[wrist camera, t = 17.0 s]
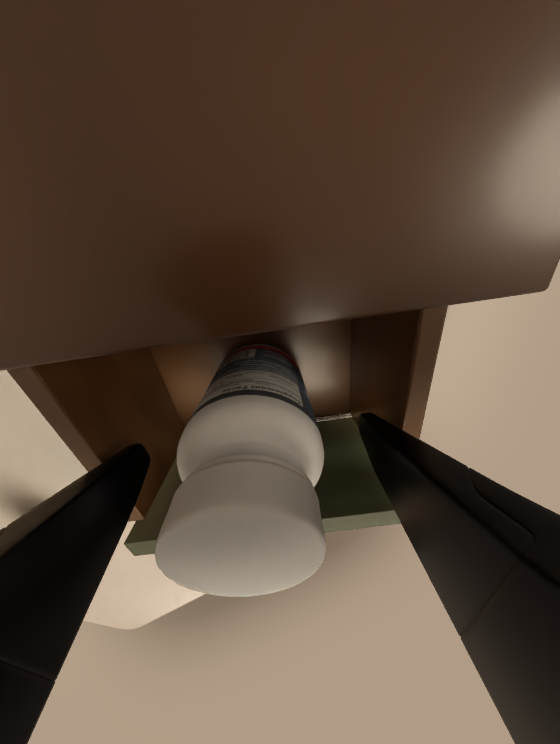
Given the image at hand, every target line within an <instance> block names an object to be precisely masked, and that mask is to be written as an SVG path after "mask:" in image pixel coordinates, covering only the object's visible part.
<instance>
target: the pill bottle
mask: <svg viewBox="0 0 560 744" xmlns="http://www.w3.org/2000/svg"><path fill="white" fill-rule="evenodd" d="M323 463H324V448H323V443H322V438H321V435H320V431H319V428H318V425H317V422H316V419H315V416H314V412H313V409H312V406H311V403H310V400H309V396H308V393H307V390H306V387H305V384H304V381H303V378H302V375H301V372H300V369H299V367H298V365H297V364H296V362H295V361H294V360H293V359H292V358H291V357H290V356H289V355H288V354H287V353H286V352H284V351H282V350H281V349H279V348H276V347H274V346H270V345H266V344H251V345H246V346H243V347H240V348H238V349H236V350H234V351H233V352H231V353H230V354H229V355H228V356H227V357H226V358H225V359H224V360H223V362H222V363H221V364H220V366H219V368H218V369H217V372H216V373H215V375H214V377H213V379H212V381H211V383H210V385H209V386H208V388H207V390H206V392H205V394H204V396H203V397H202V399H201V401H200V403H199V404H198V406H197V408H196V409H195V411H194V412H193V414H192V416H191V417H190V419H189V421H188V423H187V425H186V427H185V429H184V431H183V433H182V435H181V438H180V441H179V444H178V448H177V467H178V472H179V475H180V478H181V480H182V484H181V485H180V486H179V488H178V489H177V491H176V492H175V494H174V496H173V499H172V502H171V505H170V507H169V510H168V512H167V515H166V517H165V520H164V522H163V525H162V527H161V530H160V533H159V535H158V538H157V541H156V545H155V559H156V563H157V565H158V567H159V568H160V569H161V570H162V572H163V573H164V574H165V575H166V576H167V577H168V578H170V579H171V580H173V581H174V582H176V583H177V584H179V585H181V586H183V587H186V588H188V589H191V590H194V591H199V592H202V593H207V594H211V595H219V596H228V597H245V596H256V595H264V594H270V593H274V592H278V591H281V590H285V589H288V588H290V587H292V586H295V585H297V584H299V583H301V582H303V581H305V580H306V579H307V578H309V577H310V576H312V575H313V574H314V573H315V572H316V571H317V570H318V569H319V568H320V566H321V565H322V562H323V560H324V558H325V553H326V540H325V535H324V529H323V524H322V519H321V513H320V506H319V499H318V496H317V494H316V492H315V489H314V487H315V486H316V484H317V482H318V480H319V478H320V475H321V472H322V469H323Z"/></svg>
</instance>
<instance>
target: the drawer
mask: <svg viewBox="0 0 560 744" xmlns="http://www.w3.org/2000/svg"><path fill="white" fill-rule="evenodd" d="M447 307H448V305H447V306H440V307H433V308H427V309H420V310H413V311H406V312H399V313H392V314H385V315H379V316H372V317H365V318H358V319H351V320H344V321H338V322H331V323H324V324H317V325H310V326H303V327H296V328H290V329H283V330H276V331H269V332H262V333H255V334H249V335H242V336H235V337H228V338H221V339H214V340H207V341H201V342H194V343H187V344H180V345H173V346H166V347H160V348H153V349H146V350H139V351H132V352H125V353H118V354H112V355H105V356H98V357H91V358H84V359H77V360H71V361H64V362H57V363H50V364H43V365H36V366H29V367H23V368H16V369H9V370H7V371H8V372H9V374H10V375H11V376H12V377H13V379H14V380H15V381H16V382H17V384H18V385H19V386H20V387H21V389H22V390H23V391H24V392H25V394H26V395H27V396H28V397H29V399H30V400H31V401H32V402H33V404H34V405H35V406H36V407H37V409H38V410H39V411H40V412H41V414H42V415H43V416H44V417H45V419H46V420H47V421H48V422H49V424H50V425H51V426H52V427H53V429H54V430H55V431H56V432H57V434H58V435H59V436H60V437H61V439H62V440H63V441H64V442H65V444H66V445H67V446H68V447H69V449H70V450H71V451H72V452H73V454H74V455H75V456H76V457H77V459H78V460H79V461H80V462H81V464H82V465H83V466H84V467H85V469H86V470H87V471H88V472H89V471H91V470H92V469H94V468H95V467H97V466H98V465H100V464H101V463H103V462H105V461H106V460H108V459H109V458H111V457H112V456H114V455H115V454H117V453H118V452H120V451H121V450H123V449H124V448H126V447H127V446H129V445H131V444H137V443H141V444H143V445H144V447H145V448H146V450H147V452H148V454H149V455H150V458H151V462H150V466H149V468H148V471H147V474H146V477H145V480H144V483H143V486H142V488H141V491H140V494H139V497H138V499H137V502H136V504H135V507H134V509H133V511H132V513H131V516H130V518H129V520H128V521H136V522H135V524H134V526H133V528H132V530H131V531H130V533H129V535H128V537H127V539H126V541H125V543H124V545H125V546H126V547H127V548H128V549H129V550H130V551H131V553H132V554H133V555H134V556H138V555H146V554H155V545H156V541H157V538H158V535H159V533H160V530H161V527H162V525H163V522H164V520H165V517H166V515H167V512H168V510H169V507H170V505H171V502H172V499H173V496H174V494H175V492H176V491H177V489H178V488H179V486H180V485H181V484H182V480H181V478H180V475H179V472H178V467H177V448H178V444H179V441H180V438H181V435H182V433H183V431H184V429H185V427H186V425H187V423H188V421H189V419H190V417H191V416H192V414H193V412H194V411H195V409H196V408H197V406H198V404H199V403H200V401H201V399H202V397H203V396H204V394H205V392H206V390H207V388H208V386H209V385H210V383H211V381H212V379H213V377H214V375H215V373H216V372H217V369H218V368H219V366H220V364H221V363H222V362H223V360H224V359H225V358H226V357H227V356H228V355H229V354H230V353H231V352H233V351H234V350H236V349H238V348H240V347H243V346H246V345H251V344H266V345H270V346H274V347H276V348H279V349H281V350H282V351H284V352H286V353H287V354H288V355H289V356H290V357H291V358H292V359H293V360H294V361H295V362H296V364H297V365H298V367H299V369H300V372H301V375H302V378H303V381H304V384H305V387H306V390H307V393H308V396H309V400H310V403H311V406H312V409H313V412H314V416H315V417H323V416H330V415H338V414H345V413H350V414H351V415H352V417H351V418H344V419H336V420H329V421H321V422H317V425H318V428H319V431H320V435H321V438H322V443H323V448H324V463H323V469H322V472H321V475H320V478H319V480H318V482H317V484H316V486H315V487H314V489H315V492H316V494H317V496H318V499H319V506H320V513H321V519H322V524H323V529H324V533H326V532H334V531H342V530H350V529H359V528H366V527H374V526H383V525H391V524H399V523H401V522H400V520H399V518H398V516H397V514H396V512H395V510H394V508H393V507H392V505H391V503H390V501H389V499H388V497H387V495H386V493H385V491H384V489H383V487H382V485H381V483H380V481H379V479H378V478H377V476H376V473H375V471H374V469H373V467H372V464H371V462H370V459H369V457H368V454H367V451H366V449H365V446H364V444H363V441H362V439H361V436H360V433H359V417H360V414H361V413H367V412H371V413H373V414H375V415H377V416H379V417H380V418H382V419H384V420H386V421H387V422H389V423H391V424H393V425H395V426H396V427H398V428H400V429H402V430H403V431H405V432H407V433H409V434H411V435H412V436H414V437H416V438H418V439H419V438H420V434H421V429H422V424H423V419H424V415H425V410H426V405H427V401H428V396H429V391H430V387H431V382H432V377H433V373H434V368H435V363H436V359H437V354H438V349H439V345H440V340H441V335H442V331H443V326H444V321H445V317H446V312H447Z"/></svg>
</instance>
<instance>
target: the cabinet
mask: <svg viewBox="0 0 560 744" xmlns="http://www.w3.org/2000/svg"><path fill="white" fill-rule="evenodd" d="M559 259H560V0H0V371H2V370H9V369H16V368H23V367H29V366H36V365H43V364H50V363H57V362H64V361H71V360H77V359H84V358H91V357H98V356H105V355H112V354H118V353H125V352H132V351H139V350H146V349H153V348H160V347H166V346H173V345H180V344H187V343H194V342H201V341H207V340H214V339H221V338H228V337H235V336H242V335H249V334H255V333H262V332H269V331H276V330H283V329H290V328H296V327H303V326H310V325H317V324H324V323H331V322H338V321H344V320H351V319H358V318H365V317H372V316H379V315H385V314H392V313H399V312H406V311H413V310H420V309H427V308H433V307H440V306H447V305H454V304H461V303H468V302H474V301H481V300H488V299H495V298H502V297H509V296H516V295H522V294H529V293H535V292H541V291H545V290H546V289H547V288H548V287H549V284H550V282H551V279H552V277H553V274H554V272H555V269H556V267H557V264H558V262H559Z"/></svg>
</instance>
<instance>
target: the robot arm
mask: <svg viewBox="0 0 560 744" xmlns="http://www.w3.org/2000/svg"><path fill="white" fill-rule="evenodd" d="M359 433H360V436H361V439H362V441H363V444H364V446H365V449H366V451H367V454H368V457H369V459H370V462H371V464H372V467H373V469H374V471H375V473H376V476H377V478H378V479H379V481H380V483H381V485H382V487H383V489H384V491H385V493H386V495H387V497H388V499H389V501H390V503H391V505H392V507H393V508H394V510H395V512H396V514H397V516H398V518H399V520H400V522H401V524H402V526H403V528H404V530H405V532H406V534H407V535H408V537H409V539H410V541H411V543H412V545H413V547H414V549H415V551H416V553H417V555H418V557H419V559H420V561H421V563H422V564H423V566H424V568H425V570H426V572H427V574H428V576H429V578H430V580H431V582H432V584H433V586H434V588H435V590H436V591H437V593H438V595H439V597H440V599H441V601H442V603H443V605H444V607H445V609H446V611H447V613H448V615H449V617H450V618H451V620H452V622H453V624H454V626H455V628H456V630H457V632H458V634H459V635H460V636H461V640H462V642H463V644H464V646H465V648H466V650H467V652H468V654H469V655H470V658H471V659H472V661H473V663H474V665H475V667H476V669H477V671H478V673H479V675H480V677H481V679H482V681H483V683H484V685H485V687H486V688H487V690H488V692H489V694H490V696H491V698H492V700H493V702H494V704H495V706H496V708H497V710H498V712H499V714H500V715H501V717H502V719H503V721H504V723H505V725H506V727H507V729H508V731H509V733H510V735H511V737H512V739H513V740H514V743H515V744H560V515H559V514H556V513H555V512H553V511H551V510H549V509H546V508H544V507H543V506H541V505H538V504H537V503H534V502H533V501H531V500H529V499H527V498H525V497H523V496H521V495H519V494H517V493H515V492H513V491H511V490H509V489H507V488H506V487H504V486H502V485H500V484H498V483H496V482H495V481H493V480H491V479H489V478H487V477H485V476H484V475H482V474H480V473H478V472H476V471H475V470H473V469H471V468H469V469H468V467H467V466H466V465H464V464H462V463H460V462H459V461H457V460H455V459H453V458H451V457H450V456H448V455H446V454H444V453H442V452H441V451H439V450H437V449H435V448H434V447H432V446H430V445H428V444H427V443H425V442H423V441H421V440H419V439H418V438H416V437H414V436H412V435H411V434H409V433H407V432H405V431H403V430H402V429H400V428H398V427H396V426H395V425H393V424H391V423H389V422H387V421H386V420H384V419H382V418H380V417H379V416H377V415H375V414H373V413H371V412H367V413H361V414H360V417H359ZM150 462H151V458H150V455H149V454H148V452H147V450H146V448H145V447H144V445H143V444H141V443H137V444H131V445H129V446H127V447H126V448H124V449H123V450H121V451H120V452H118V453H117V454H115V455H114V456H112V457H111V458H109V459H108V460H106V461H105V462H103V463H101V464H100V465H98V466H97V467H95V468H94V469H92V470H91V471H89V472H88V473H86V474H85V475H83V476H82V477H80V478H79V479H77V480H76V481H74V482H73V483H71V484H70V485H68V486H67V487H65V488H64V489H62V490H61V491H59V492H58V493H56V494H55V495H53V496H52V497H50V498H49V499H47V500H45V501H44V502H42V503H41V504H39V505H38V506H36V507H35V508H33V509H32V510H30V511H29V512H27V513H26V514H24V515H23V516H21V517H20V518H18V519H17V520H15V521H14V522H12V523H11V524H9V525H8V526H7V527H5V528H3V529H1V530H0V744H27V743H28V741H29V739H30V737H31V734H32V732H33V730H34V728H35V725H36V723H37V721H38V719H39V717H40V714H41V712H42V710H43V708H44V706H45V703H46V701H47V699H48V697H49V695H50V692H51V690H52V688H53V686H54V684H55V680H56V679H57V676H58V674H59V672H60V670H61V668H62V665H63V663H64V661H65V659H66V657H67V654H68V652H69V650H70V648H71V646H72V643H73V641H74V639H75V637H76V635H77V632H78V630H79V628H80V626H81V623H82V621H83V619H84V617H85V615H86V613H87V610H88V608H89V606H90V604H91V602H92V599H93V597H94V595H95V593H96V590H97V588H98V586H99V584H100V582H101V579H102V577H103V575H104V573H105V571H106V568H107V566H108V564H109V562H110V560H111V557H112V555H113V553H114V551H115V549H116V546H117V544H118V542H119V540H120V538H121V535H122V533H123V531H124V529H125V527H126V524H127V522H128V520H129V518H130V516H131V513H132V511H133V509H134V507H135V504H136V502H137V499H138V497H139V494H140V491H141V488H142V486H143V483H144V480H145V477H146V474H147V471H148V468H149V466H150Z"/></svg>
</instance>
